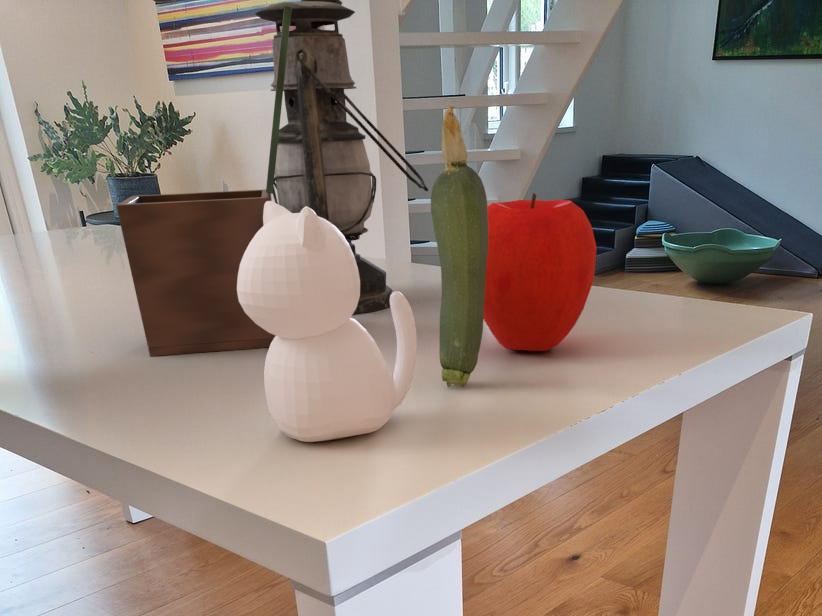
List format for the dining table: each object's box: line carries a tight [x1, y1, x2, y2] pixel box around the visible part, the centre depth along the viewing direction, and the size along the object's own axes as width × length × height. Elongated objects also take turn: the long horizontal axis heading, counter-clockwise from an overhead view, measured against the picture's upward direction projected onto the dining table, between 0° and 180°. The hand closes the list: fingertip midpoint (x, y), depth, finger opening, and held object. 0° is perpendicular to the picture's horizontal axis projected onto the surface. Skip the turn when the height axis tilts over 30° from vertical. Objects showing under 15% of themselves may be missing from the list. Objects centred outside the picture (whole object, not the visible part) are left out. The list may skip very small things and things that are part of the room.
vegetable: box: [430, 105, 489, 387], centre depth 67 cm, size 4×4×20 cm
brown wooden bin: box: [115, 188, 276, 357], centre depth 87 cm, size 14×11×13 cm
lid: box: [265, 5, 292, 195], centre depth 81 cm, size 14×11×1 cm
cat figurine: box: [237, 200, 418, 443], centre depth 60 cm, size 9×12×15 cm
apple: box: [483, 192, 598, 352], centre depth 79 cm, size 12×12×13 cm
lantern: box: [254, 0, 429, 315], centre depth 97 cm, size 19×19×30 cm
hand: (163, 1), depth 75 cm, fingers closed
